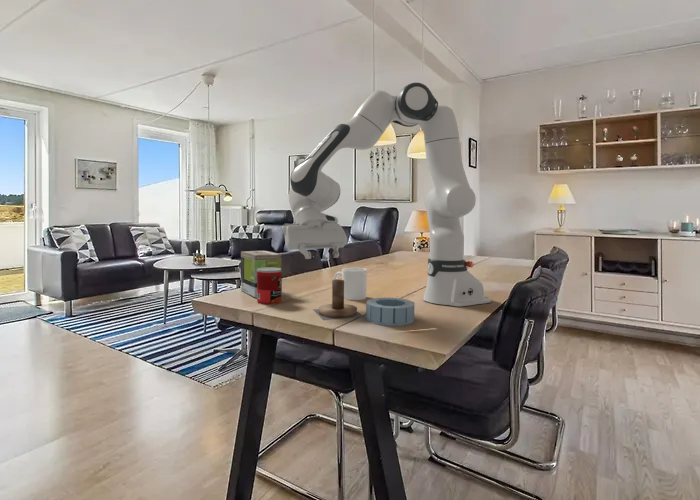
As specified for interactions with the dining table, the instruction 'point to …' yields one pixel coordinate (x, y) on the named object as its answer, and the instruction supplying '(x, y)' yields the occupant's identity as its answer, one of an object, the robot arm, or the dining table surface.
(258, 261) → the tea box
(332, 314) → the lid
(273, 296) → the canned food
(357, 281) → the cup
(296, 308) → the dining table surface
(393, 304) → the grey ridged ring
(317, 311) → the mat
